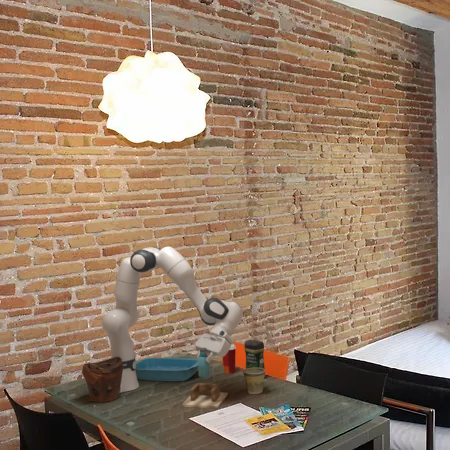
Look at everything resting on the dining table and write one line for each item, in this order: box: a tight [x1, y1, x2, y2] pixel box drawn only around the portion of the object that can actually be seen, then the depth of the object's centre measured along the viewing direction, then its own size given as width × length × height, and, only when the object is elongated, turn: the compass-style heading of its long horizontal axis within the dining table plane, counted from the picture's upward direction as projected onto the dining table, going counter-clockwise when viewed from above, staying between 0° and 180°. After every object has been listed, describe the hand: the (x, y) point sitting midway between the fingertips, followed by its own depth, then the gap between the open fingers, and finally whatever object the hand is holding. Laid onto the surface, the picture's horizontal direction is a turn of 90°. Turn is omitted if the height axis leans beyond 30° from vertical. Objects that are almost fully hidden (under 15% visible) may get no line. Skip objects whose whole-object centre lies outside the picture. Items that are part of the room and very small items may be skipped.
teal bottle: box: [197, 348, 211, 378], centre depth 272 cm, size 5×5×12 cm
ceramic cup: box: [242, 368, 266, 395], centre depth 283 cm, size 13×10×10 cm
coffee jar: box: [243, 339, 266, 378], centre depth 304 cm, size 10×8×19 cm
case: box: [81, 357, 123, 403], centre depth 282 cm, size 18×20×18 cm
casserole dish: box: [136, 357, 198, 383], centre depth 314 cm, size 37×22×7 cm, turn 72°
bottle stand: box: [181, 382, 229, 409], centre depth 272 cm, size 16×18×6 cm
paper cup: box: [222, 343, 237, 375], centre depth 315 cm, size 8×8×14 cm
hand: (202, 360), depth 271 cm, fingers closed on teal bottle, 5 cm apart
